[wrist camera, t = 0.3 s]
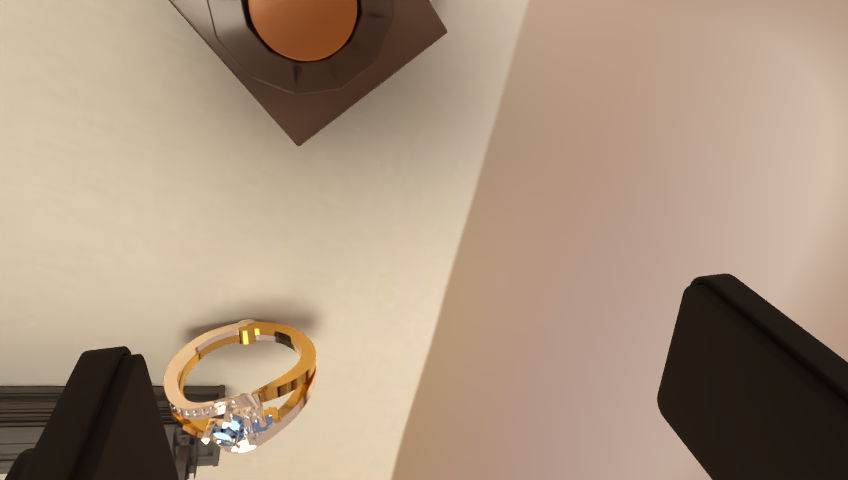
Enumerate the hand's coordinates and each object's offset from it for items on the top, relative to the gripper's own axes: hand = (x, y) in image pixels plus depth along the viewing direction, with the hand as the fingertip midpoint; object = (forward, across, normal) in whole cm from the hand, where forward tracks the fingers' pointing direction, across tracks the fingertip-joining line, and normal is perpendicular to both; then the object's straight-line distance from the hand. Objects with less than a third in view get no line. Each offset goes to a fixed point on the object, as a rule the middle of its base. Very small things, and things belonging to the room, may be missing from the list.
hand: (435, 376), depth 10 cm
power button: (+15, +1, -5) cm, 16 cm away
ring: (+19, +6, +12) cm, 23 cm away
